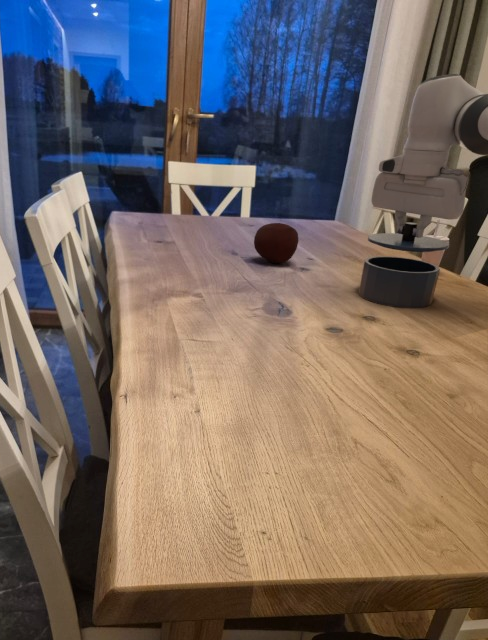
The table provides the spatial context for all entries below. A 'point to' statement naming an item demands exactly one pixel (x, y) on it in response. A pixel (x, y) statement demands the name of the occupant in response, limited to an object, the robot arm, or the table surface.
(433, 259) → the smoothie
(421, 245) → the lid
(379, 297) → the pot
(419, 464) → the table surface
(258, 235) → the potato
